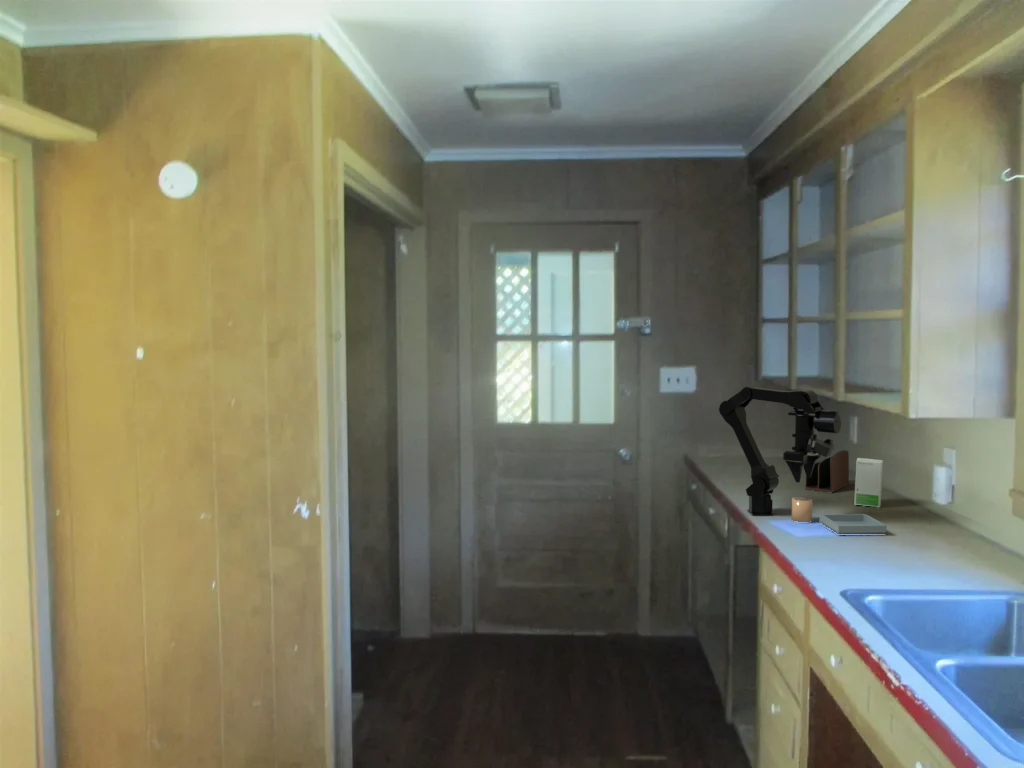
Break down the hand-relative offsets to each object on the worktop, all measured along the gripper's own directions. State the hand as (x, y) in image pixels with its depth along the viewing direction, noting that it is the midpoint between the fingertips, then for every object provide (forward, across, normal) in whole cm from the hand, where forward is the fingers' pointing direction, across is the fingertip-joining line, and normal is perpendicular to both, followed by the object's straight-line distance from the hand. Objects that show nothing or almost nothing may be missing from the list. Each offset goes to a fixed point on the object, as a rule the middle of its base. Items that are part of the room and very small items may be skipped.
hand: (803, 479), depth 245 cm
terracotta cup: (+13, 0, 0) cm, 13 cm away
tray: (+13, -1, -15) cm, 20 cm away
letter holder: (+13, +56, +11) cm, 58 cm away
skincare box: (+13, +34, -10) cm, 38 cm away
